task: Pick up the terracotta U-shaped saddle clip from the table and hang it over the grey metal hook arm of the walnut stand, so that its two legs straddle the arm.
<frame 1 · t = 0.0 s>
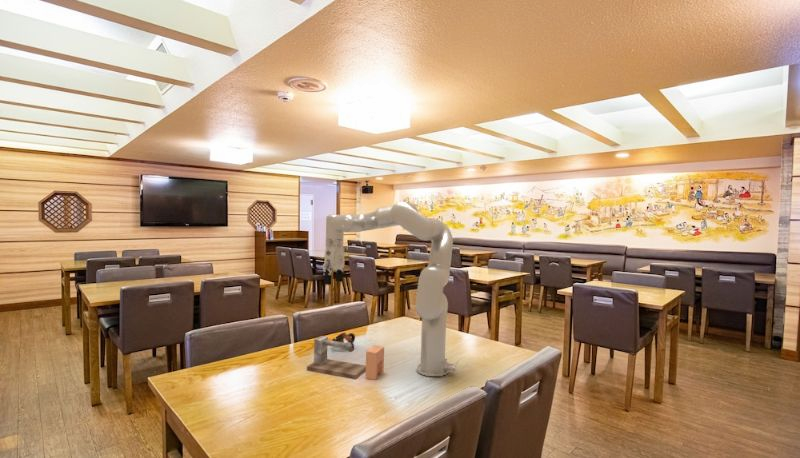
hand: (333, 282, 165), 31 cm above the table, tool pointing down, fingers open, 9 cm apart
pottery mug: (344, 348, 175), on the table
hook stand: (337, 369, 149), on the table
saddle clip: (374, 375, 145), on the table
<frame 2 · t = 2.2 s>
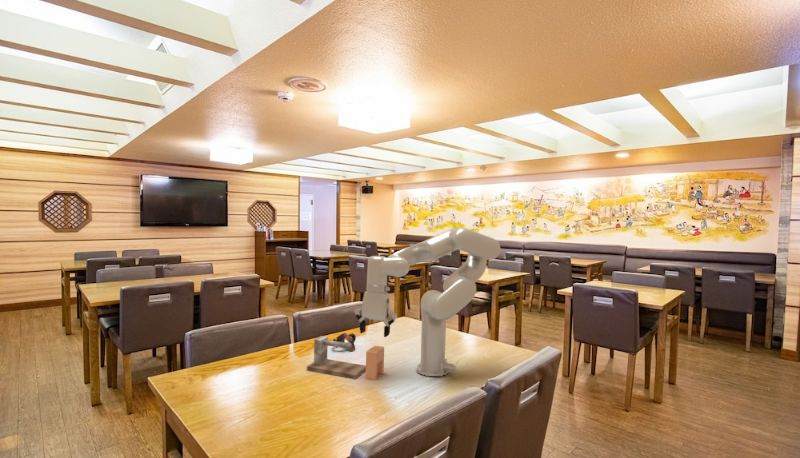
hand: (374, 334, 144), 16 cm above the table, tool pointing down, fingers open, 9 cm apart
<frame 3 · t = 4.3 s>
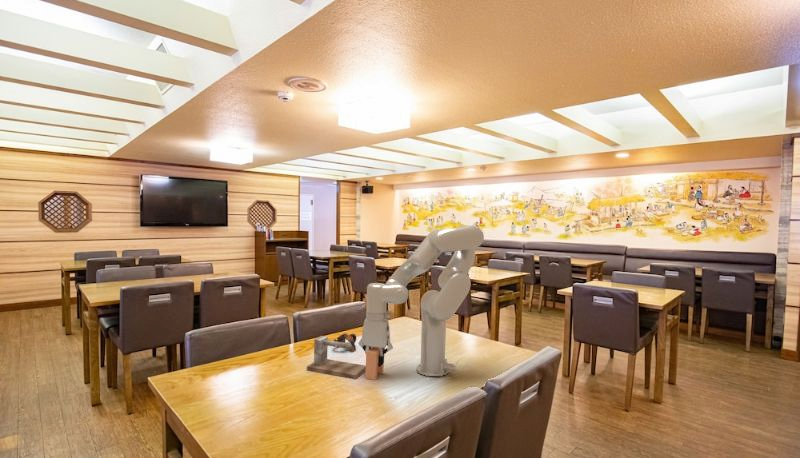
hand: (374, 364, 145), 4 cm above the table, tool pointing down, fingers closed on saddle clip, 4 cm apart
saddle clip: (374, 375, 145), on the table, touching gripper
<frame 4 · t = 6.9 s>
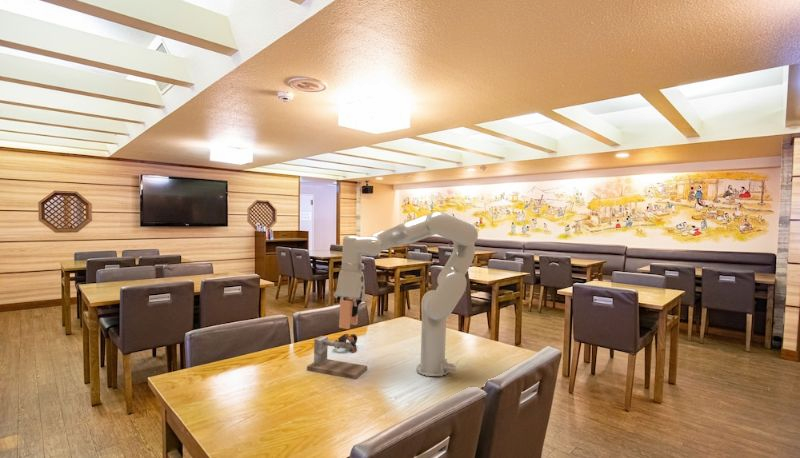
hand: (348, 314, 147), 22 cm above the table, tool pointing down, fingers closed on saddle clip, 4 cm apart
saddle clip: (348, 325, 147), point 18 cm above the table, touching gripper
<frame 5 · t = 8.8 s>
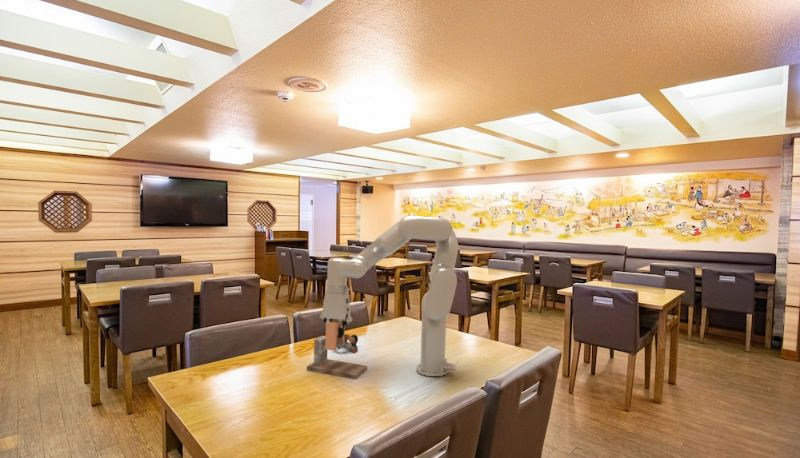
hand: (335, 336, 149), 13 cm above the table, tool pointing down, fingers closed on saddle clip, 4 cm apart
saddle clip: (334, 346, 149), point 9 cm above the table, touching gripper
when the fingers open (12 cm above the table, at t = 9.8 s): saddle clip drops 2 cm, resting on hook stand.
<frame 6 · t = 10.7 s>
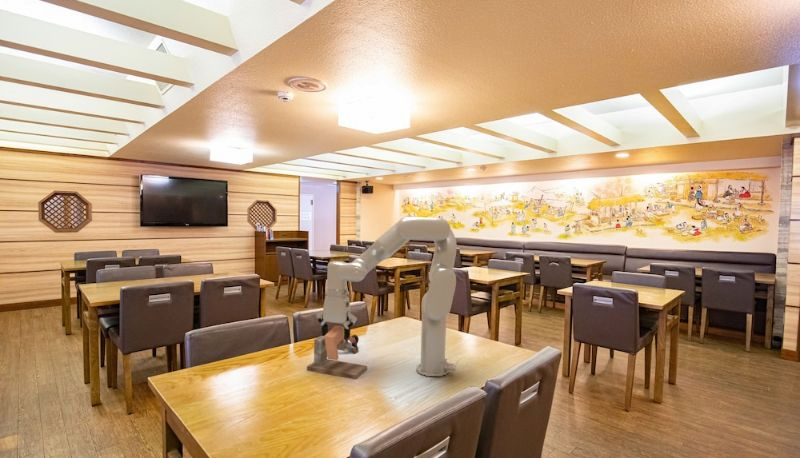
hand: (335, 336, 149), 13 cm above the table, tool pointing down, fingers open, 9 cm apart
saddle clip: (337, 353, 151), point 6 cm above the table, tilted 17°, touching hook stand
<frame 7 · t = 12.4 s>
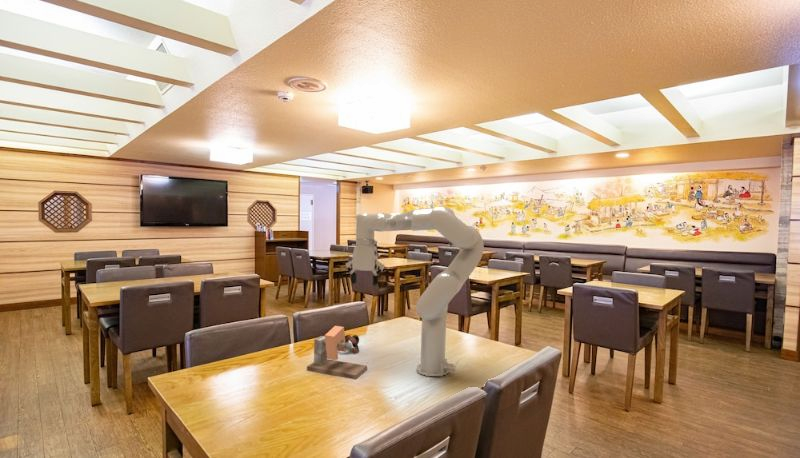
hand: (364, 284, 160), 32 cm above the table, tool pointing down, fingers open, 9 cm apart
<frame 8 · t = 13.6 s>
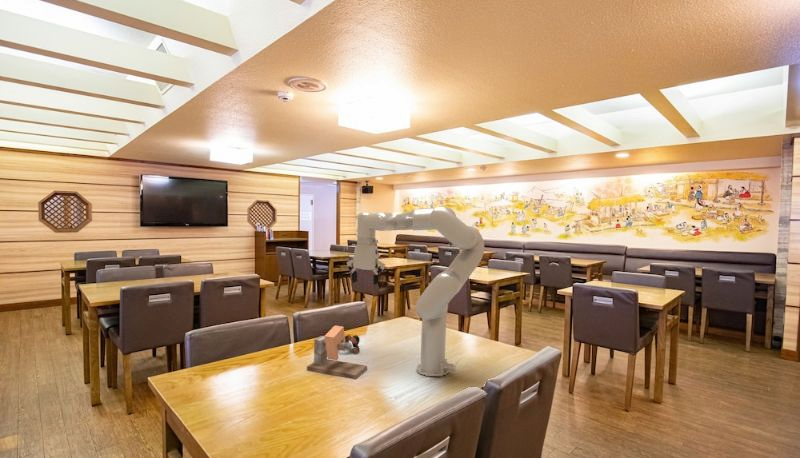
hand: (365, 283, 160), 32 cm above the table, tool pointing down, fingers open, 9 cm apart
at the end: saddle clip 1.5 cm off-centre on the hook stand, point 5.7 cm above the hook stand's base; saddle clip tilted 16°; the gripper is holding nothing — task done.
